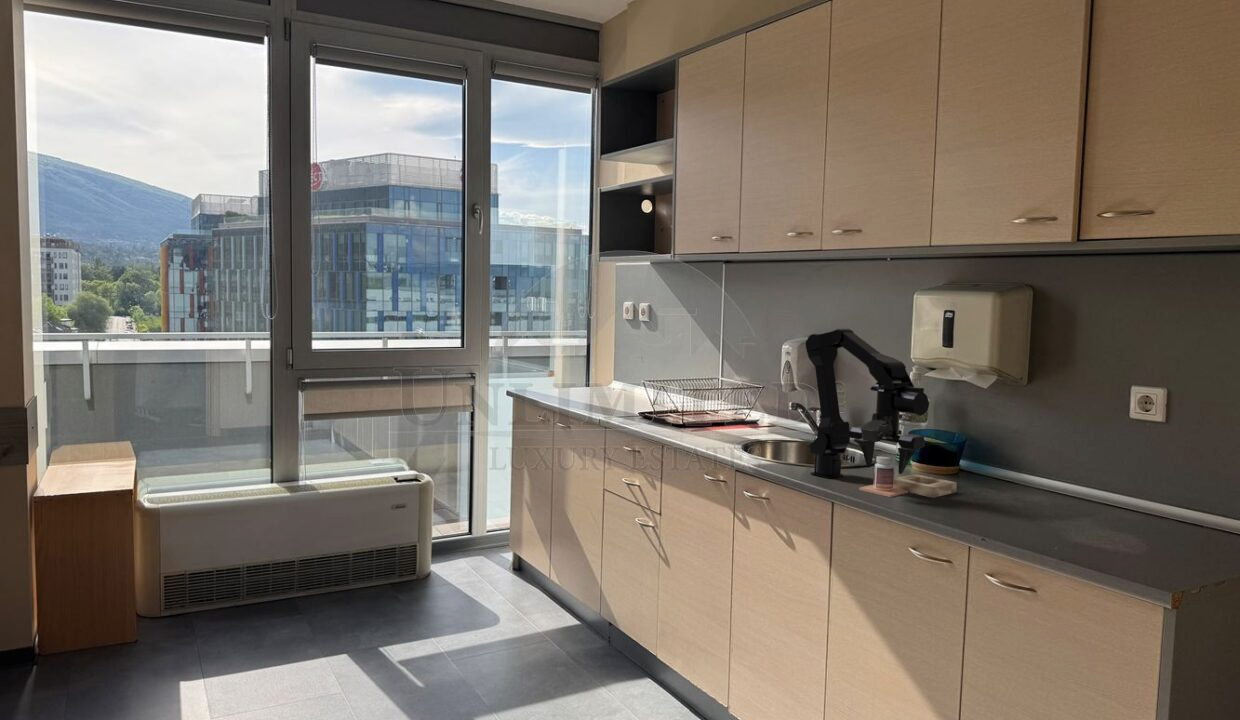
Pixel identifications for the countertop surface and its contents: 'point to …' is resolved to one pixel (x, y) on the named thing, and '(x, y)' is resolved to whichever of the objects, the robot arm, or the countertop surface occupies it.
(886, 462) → the pill bottle
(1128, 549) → the countertop surface
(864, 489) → the terracotta tile
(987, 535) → the countertop surface
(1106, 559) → the countertop surface
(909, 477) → the frame block
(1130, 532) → the countertop surface
